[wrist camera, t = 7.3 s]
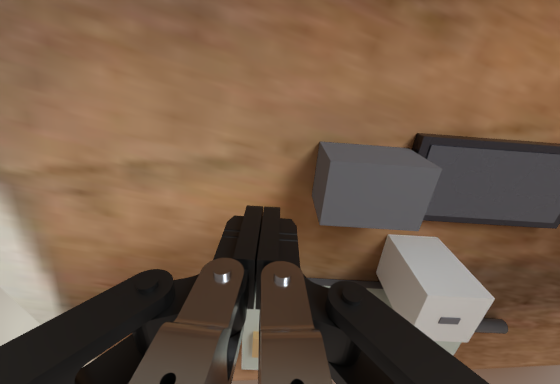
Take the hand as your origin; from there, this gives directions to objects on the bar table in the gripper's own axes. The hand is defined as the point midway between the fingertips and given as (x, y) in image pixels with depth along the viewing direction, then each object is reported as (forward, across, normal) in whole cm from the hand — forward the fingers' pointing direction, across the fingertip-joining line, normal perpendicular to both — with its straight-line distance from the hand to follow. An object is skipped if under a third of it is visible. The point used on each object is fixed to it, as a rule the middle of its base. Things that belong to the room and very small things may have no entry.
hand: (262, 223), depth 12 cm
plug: (+7, -6, 0) cm, 9 cm away
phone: (+7, -15, 0) cm, 17 cm away
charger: (+7, -12, +7) cm, 15 cm away
